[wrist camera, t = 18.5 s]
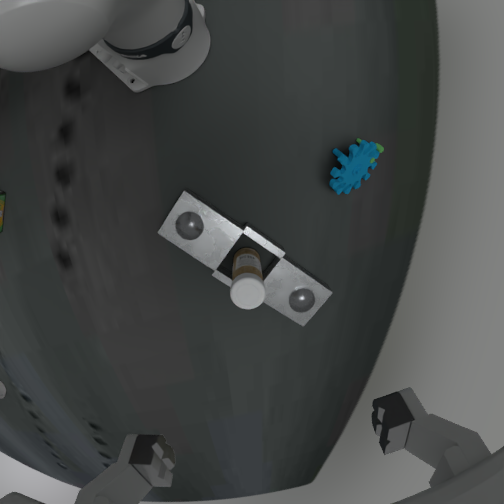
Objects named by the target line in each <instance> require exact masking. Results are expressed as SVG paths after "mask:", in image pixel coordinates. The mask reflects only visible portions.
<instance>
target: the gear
mask: <svg viewBox="0 0 504 504" xmlns="http://www.w3.org/2000/svg"><path fill="white" fill-rule="evenodd" d="M356 142H358V143H359V144H360V146H359V147H358V146H357V145H355V144H353V145H351V146H350V147H349V157H347V156H345V155H344V154H343V153H342V152H341V151H339V150H338V149H337V148H335V149H334V150H333V154H335V155H336V156H337V157H338V159H337V160H338V161H339V162H340V163H341V164H342V168H341V170H339V169H337V168H336V167H334V168H333V169H332V171H331V173H330V174H331V175H332V176H333V177H334V178H336V177H339V176H340V177H339V178H338V179H331V180H330V183H329V185H330V186H331V187H332V188H333V189H334V191H335V192H336V193H337V194H338V195H339V194H340V193H341V192H342V191H343V192H344V193H345V194H349V192H350V191H351V188H352V187H353V188H354V189H357V188H359V187H360V185H361V184H360V181H361V178H363V179H364V180H367V179H368V178H369V177H370V174H369V173H368V172H367V169H368V167H370V168H371V169H374V168H375V167H376V165H377V163H376V162H375V159H376V158H378V156H379V152H380V153H381V152H383V150H384V148H383V147H382V146H381V145H380V144H378V143H376V144H375V143H373V142H370V143H368V142H367V141H365V140H361V139H359V138H358V139H357V140H356Z"/></svg>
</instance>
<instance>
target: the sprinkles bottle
mask: <svg viewBox="0 0 504 504" xmlns="http://www.w3.org/2000/svg"><path fill="white" fill-rule="evenodd" d="M233 263H234V264H233V272H232V273H233V278H232V283H231V288H230V295H231V299H232V301H233V302H234V304H235V305H237V306H238V307H240V308H243V309H253V308H256V307H258V306H259V305H260V304H261V303H262V302H263V301H264V299H265V295H266V291H265V285H264V282H263V277H262V270H261V264H260V256H259V254H258V253H257V252H256V251H255V250H254V249H251V248H242V249H240V250H238V251H237V252H236V253H235V255H234V258H233Z"/></svg>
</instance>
